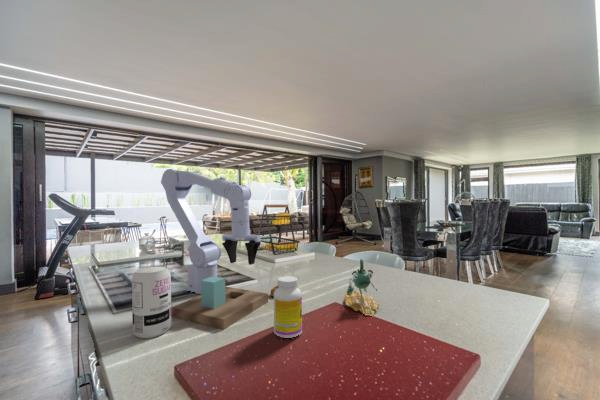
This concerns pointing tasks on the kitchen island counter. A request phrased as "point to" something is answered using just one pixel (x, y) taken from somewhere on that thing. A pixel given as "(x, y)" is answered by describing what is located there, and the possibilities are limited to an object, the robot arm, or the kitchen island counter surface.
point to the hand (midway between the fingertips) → (242, 263)
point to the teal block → (213, 292)
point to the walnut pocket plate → (221, 308)
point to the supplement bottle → (287, 308)
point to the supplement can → (151, 301)
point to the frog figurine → (358, 298)
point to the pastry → (274, 290)
